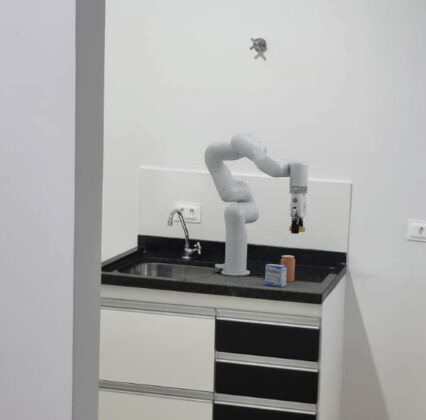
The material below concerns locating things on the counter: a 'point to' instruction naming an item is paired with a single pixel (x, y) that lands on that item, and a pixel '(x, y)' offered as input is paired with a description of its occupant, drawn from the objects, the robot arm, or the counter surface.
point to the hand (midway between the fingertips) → (297, 232)
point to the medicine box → (275, 275)
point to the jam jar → (289, 267)
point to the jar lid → (301, 229)
